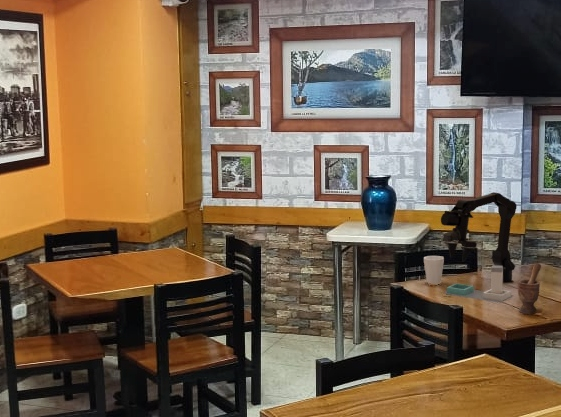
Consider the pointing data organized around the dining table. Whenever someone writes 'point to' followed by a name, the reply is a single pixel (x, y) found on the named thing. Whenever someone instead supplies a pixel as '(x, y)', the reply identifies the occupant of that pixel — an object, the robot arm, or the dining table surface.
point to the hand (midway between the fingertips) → (457, 259)
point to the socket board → (476, 293)
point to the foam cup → (433, 268)
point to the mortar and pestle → (529, 292)
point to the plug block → (497, 279)
